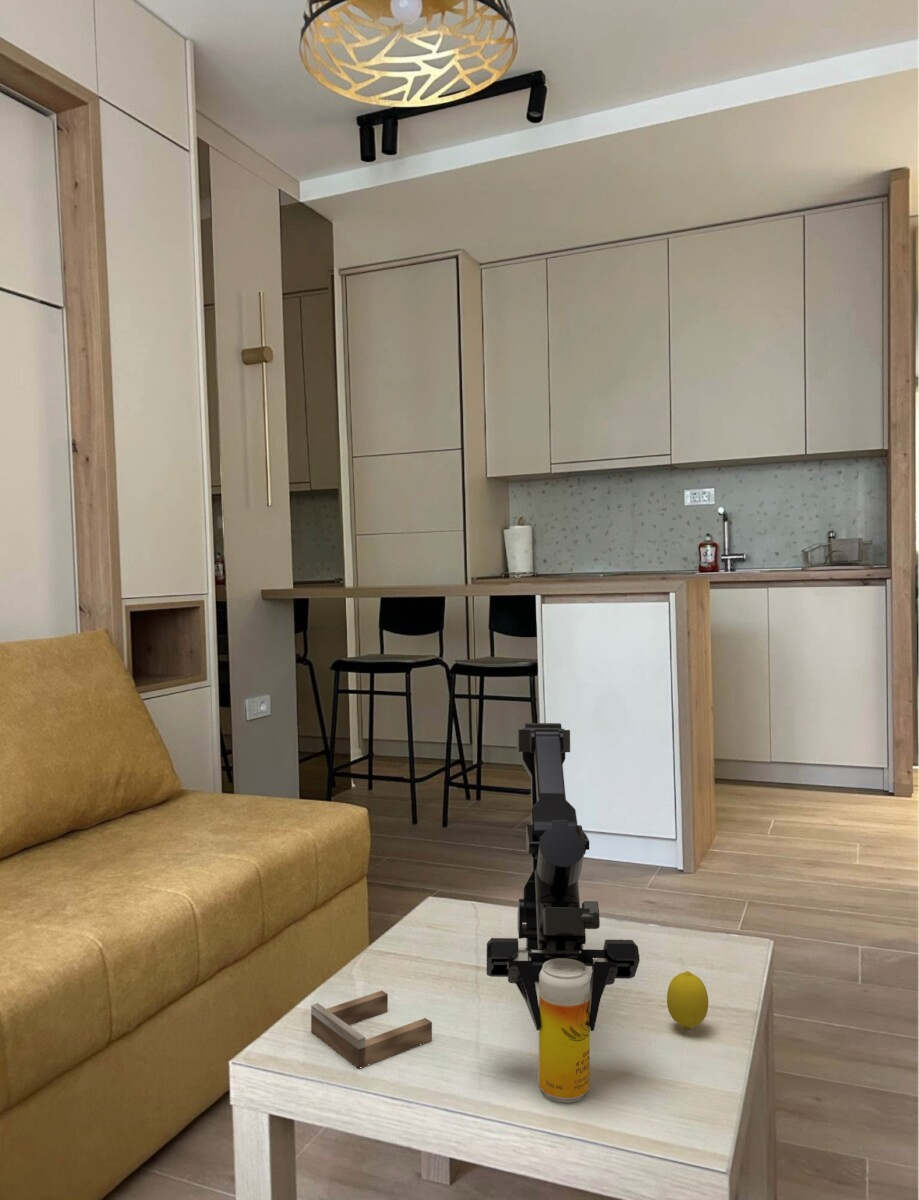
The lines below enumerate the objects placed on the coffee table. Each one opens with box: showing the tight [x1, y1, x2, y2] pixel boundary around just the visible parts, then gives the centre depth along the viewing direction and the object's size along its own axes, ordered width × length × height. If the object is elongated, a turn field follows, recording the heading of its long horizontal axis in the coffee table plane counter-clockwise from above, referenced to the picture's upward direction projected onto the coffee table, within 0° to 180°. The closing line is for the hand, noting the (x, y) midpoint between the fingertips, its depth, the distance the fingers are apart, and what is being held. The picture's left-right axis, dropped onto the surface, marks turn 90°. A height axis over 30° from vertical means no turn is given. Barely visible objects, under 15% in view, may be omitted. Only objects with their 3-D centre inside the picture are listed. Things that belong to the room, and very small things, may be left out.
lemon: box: [666, 970, 709, 1031], centre depth 124 cm, size 6×6×8 cm
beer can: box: [538, 958, 591, 1103], centre depth 109 cm, size 6×6×15 cm
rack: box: [310, 990, 433, 1069], centre depth 122 cm, size 12×12×4 cm
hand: (565, 1029), depth 107 cm, fingers closed on beer can, 6 cm apart
